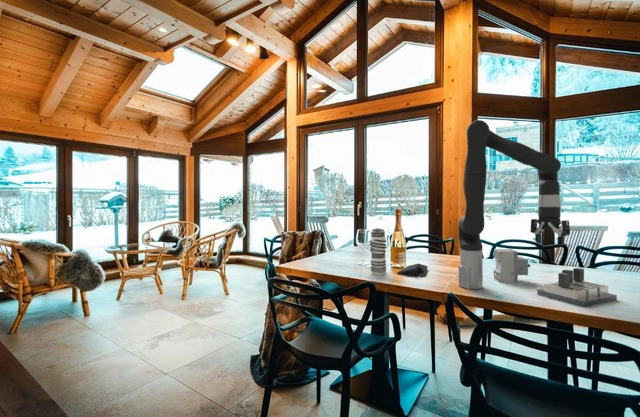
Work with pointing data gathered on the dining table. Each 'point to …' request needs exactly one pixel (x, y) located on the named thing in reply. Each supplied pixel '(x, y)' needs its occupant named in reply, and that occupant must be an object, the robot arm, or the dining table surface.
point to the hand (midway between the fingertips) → (549, 244)
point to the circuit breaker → (509, 265)
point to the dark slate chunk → (414, 270)
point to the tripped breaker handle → (564, 279)
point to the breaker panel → (581, 301)
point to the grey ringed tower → (378, 251)
